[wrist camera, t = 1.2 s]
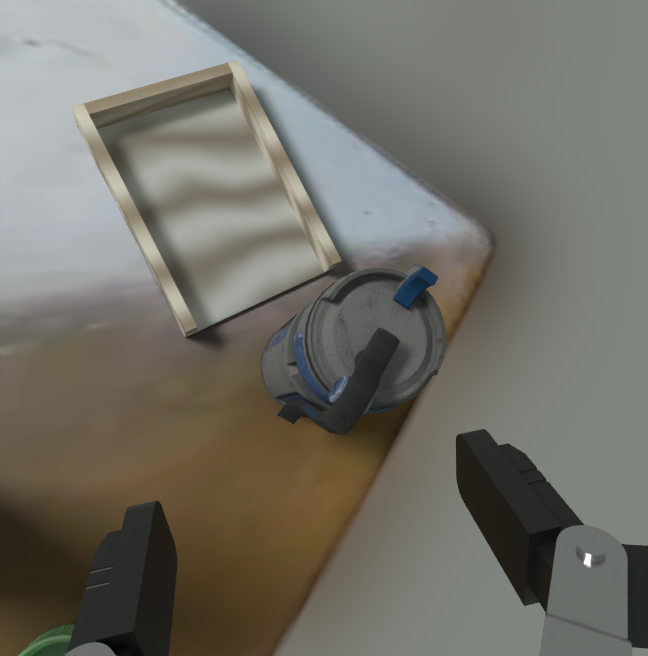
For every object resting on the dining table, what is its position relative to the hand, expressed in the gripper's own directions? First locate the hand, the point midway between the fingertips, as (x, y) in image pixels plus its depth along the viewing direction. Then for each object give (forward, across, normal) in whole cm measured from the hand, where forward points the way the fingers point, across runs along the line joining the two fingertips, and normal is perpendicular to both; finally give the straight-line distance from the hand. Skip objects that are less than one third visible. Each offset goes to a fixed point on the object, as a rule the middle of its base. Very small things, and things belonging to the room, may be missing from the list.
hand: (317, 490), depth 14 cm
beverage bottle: (+39, +2, -19) cm, 43 cm away
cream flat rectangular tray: (+49, -4, -1) cm, 49 cm away
